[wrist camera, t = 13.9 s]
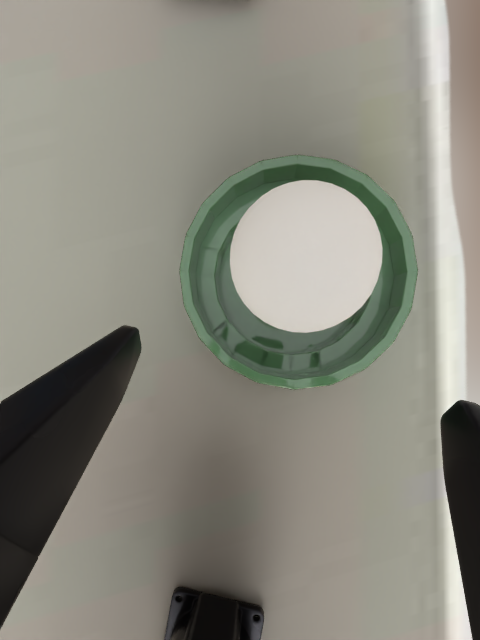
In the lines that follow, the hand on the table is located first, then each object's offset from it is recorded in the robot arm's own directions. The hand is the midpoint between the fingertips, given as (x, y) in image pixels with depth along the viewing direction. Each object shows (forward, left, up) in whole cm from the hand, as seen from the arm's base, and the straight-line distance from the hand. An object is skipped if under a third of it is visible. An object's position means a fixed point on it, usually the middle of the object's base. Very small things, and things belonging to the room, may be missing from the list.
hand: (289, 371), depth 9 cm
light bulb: (+4, 0, -13) cm, 14 cm away
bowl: (+5, 0, -14) cm, 14 cm away
